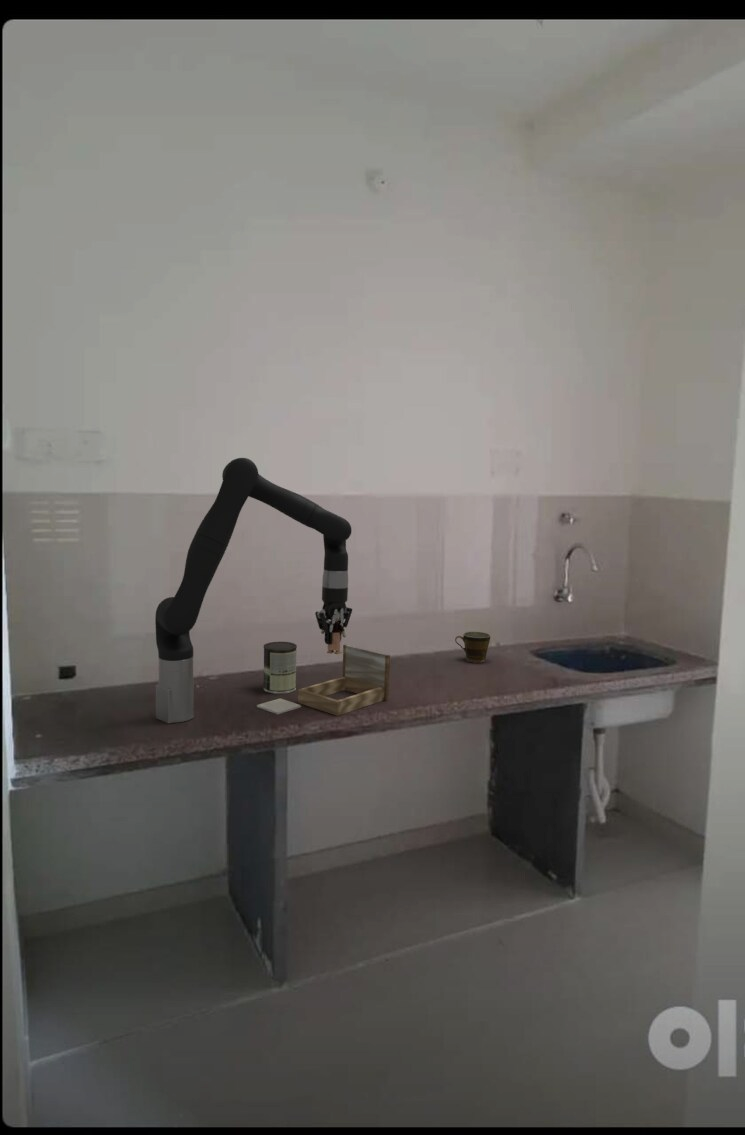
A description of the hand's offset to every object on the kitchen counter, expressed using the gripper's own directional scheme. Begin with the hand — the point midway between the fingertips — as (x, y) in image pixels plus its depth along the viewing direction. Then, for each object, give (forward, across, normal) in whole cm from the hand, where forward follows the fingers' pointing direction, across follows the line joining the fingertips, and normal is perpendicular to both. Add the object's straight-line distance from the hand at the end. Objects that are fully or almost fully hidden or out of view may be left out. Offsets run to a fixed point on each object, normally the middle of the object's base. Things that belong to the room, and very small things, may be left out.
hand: (332, 642), depth 217 cm
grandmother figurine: (+3, 0, 0) cm, 3 cm away
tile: (+19, -14, +8) cm, 24 cm away
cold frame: (+18, +4, -1) cm, 19 cm away
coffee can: (+19, -2, +21) cm, 28 cm away
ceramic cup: (+17, +72, -2) cm, 75 cm away
